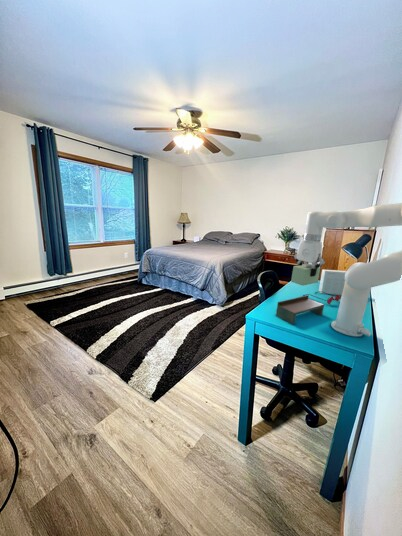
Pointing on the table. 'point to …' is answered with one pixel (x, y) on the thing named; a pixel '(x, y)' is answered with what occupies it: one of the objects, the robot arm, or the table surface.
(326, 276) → the skincare box
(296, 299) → the stand
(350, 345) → the table surface
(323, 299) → the glasses
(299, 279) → the tissue box
